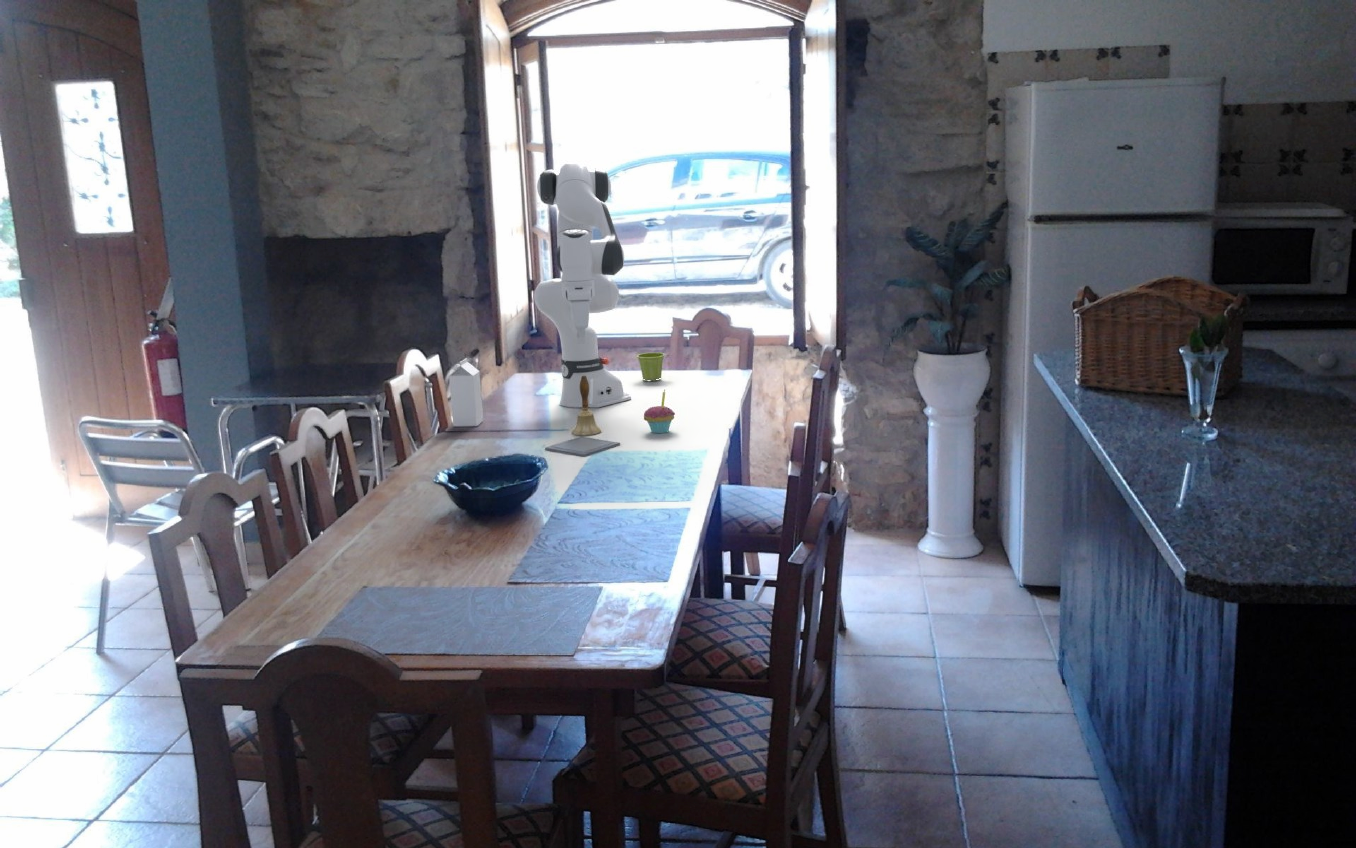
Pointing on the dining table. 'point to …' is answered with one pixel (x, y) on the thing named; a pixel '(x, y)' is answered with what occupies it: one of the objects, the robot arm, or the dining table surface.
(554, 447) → the plate
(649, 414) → the cupcake
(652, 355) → the plant pot
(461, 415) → the milk carton
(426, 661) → the dining table surface
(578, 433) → the hand bell
